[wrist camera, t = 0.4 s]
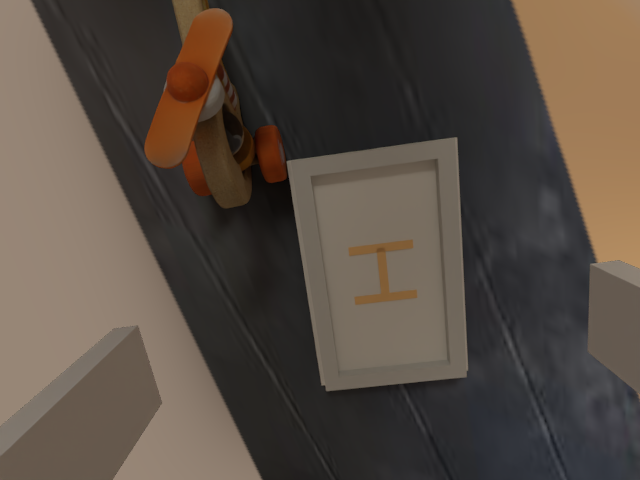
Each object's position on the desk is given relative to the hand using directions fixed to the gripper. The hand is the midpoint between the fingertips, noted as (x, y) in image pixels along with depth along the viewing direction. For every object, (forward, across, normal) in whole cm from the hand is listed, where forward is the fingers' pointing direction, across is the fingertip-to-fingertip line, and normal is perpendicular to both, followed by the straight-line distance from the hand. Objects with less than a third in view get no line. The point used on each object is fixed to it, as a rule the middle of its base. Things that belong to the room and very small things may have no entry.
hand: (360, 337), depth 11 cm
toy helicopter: (+26, -8, +11) cm, 30 cm away
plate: (+26, +3, -7) cm, 27 cm away
